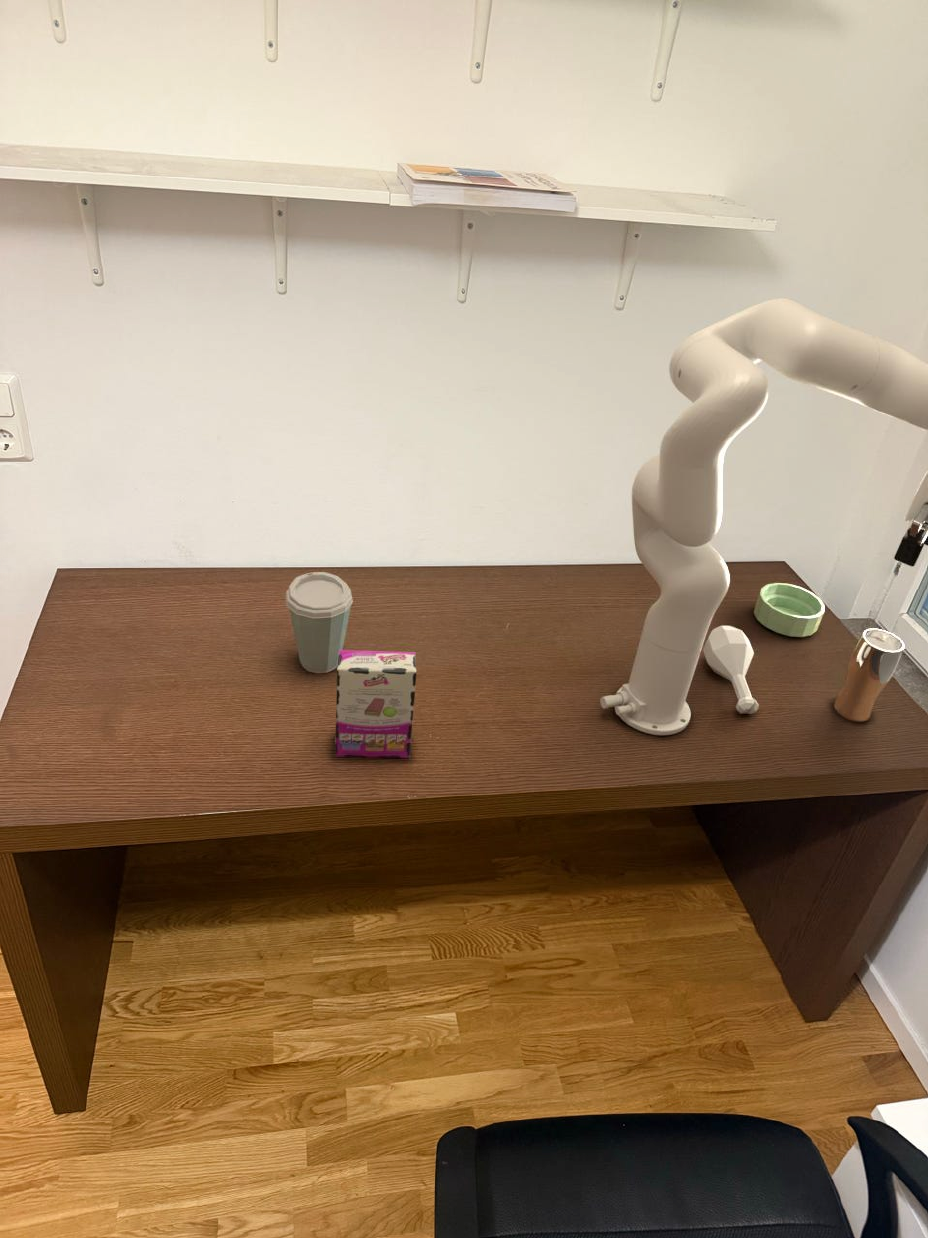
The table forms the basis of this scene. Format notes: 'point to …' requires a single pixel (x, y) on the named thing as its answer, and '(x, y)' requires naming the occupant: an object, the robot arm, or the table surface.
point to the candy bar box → (374, 703)
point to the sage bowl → (789, 609)
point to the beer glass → (868, 673)
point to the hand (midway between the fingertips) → (914, 552)
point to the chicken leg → (732, 662)
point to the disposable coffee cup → (319, 618)
